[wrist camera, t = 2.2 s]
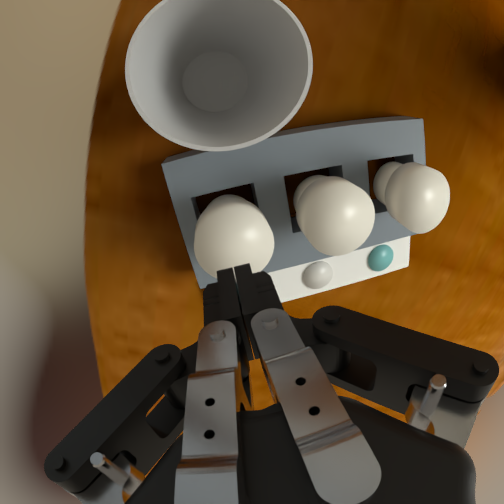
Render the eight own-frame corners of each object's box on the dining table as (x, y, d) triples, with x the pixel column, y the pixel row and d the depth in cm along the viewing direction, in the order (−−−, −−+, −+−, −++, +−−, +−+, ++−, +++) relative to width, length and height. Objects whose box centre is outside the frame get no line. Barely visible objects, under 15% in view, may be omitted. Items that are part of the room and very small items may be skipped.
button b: (342, 163, 21) (373, 177, 17) (347, 220, 23) (375, 246, 19) (281, 174, 21) (300, 192, 17) (291, 234, 23) (309, 263, 19)
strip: (407, 228, 28) (411, 232, 27) (405, 263, 29) (409, 267, 29) (203, 279, 27) (203, 284, 26) (215, 314, 29) (215, 319, 28)
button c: (254, 180, 21) (266, 199, 17) (266, 240, 23) (279, 271, 19) (188, 196, 21) (184, 219, 16) (205, 254, 23) (205, 288, 19)
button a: (413, 152, 21) (450, 165, 17) (414, 205, 23) (448, 225, 19) (365, 159, 21) (398, 173, 17) (369, 215, 23) (399, 239, 19)
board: (402, 115, 22) (422, 118, 20) (407, 219, 27) (424, 231, 24) (167, 157, 22) (161, 164, 19) (200, 270, 26) (200, 288, 24)
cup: (284, 51, 19) (334, 19, 10) (249, 147, 22) (277, 174, 14) (180, 21, 17) (163, -33, 8) (146, 119, 20) (103, 128, 11)
